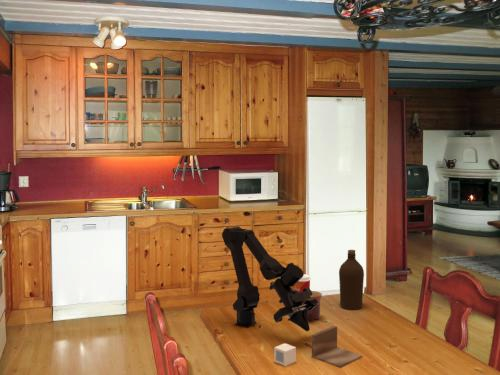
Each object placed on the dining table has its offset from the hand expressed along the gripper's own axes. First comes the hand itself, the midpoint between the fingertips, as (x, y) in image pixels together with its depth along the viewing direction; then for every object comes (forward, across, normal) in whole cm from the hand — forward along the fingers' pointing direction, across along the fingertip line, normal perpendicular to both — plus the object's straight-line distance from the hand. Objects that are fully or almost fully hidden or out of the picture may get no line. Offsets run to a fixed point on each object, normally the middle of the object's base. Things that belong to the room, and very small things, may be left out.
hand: (308, 330), depth 191 cm
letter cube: (+6, -15, +2) cm, 16 cm away
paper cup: (-17, +32, +27) cm, 45 cm away
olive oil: (-7, +48, +16) cm, 51 cm away
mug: (-8, +22, +18) cm, 30 cm away
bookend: (+13, 0, -5) cm, 14 cm away
